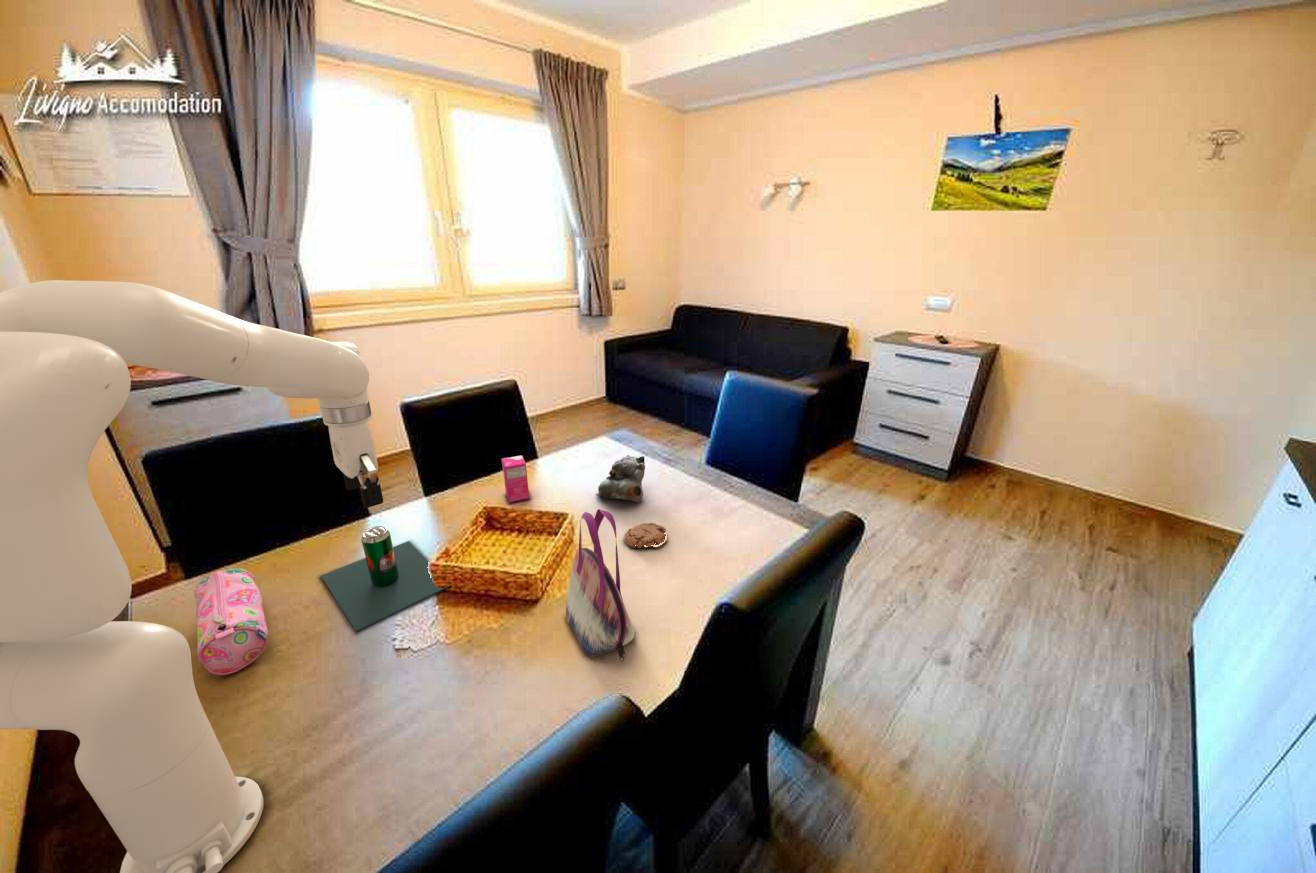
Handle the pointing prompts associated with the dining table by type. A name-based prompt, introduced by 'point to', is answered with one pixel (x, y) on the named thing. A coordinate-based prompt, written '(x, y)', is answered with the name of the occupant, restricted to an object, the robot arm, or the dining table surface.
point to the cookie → (645, 535)
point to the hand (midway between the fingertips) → (364, 496)
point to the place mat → (381, 588)
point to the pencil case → (229, 621)
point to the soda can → (380, 556)
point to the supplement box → (515, 479)
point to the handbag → (597, 597)
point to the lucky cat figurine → (624, 480)
